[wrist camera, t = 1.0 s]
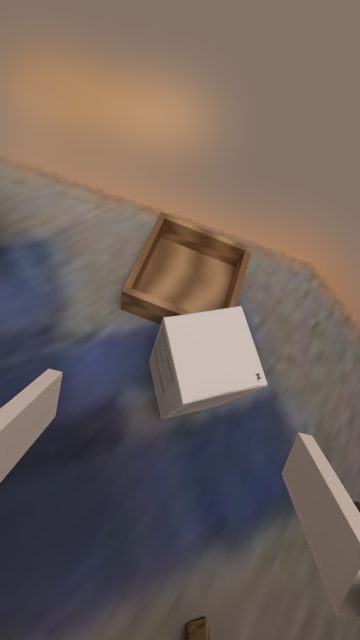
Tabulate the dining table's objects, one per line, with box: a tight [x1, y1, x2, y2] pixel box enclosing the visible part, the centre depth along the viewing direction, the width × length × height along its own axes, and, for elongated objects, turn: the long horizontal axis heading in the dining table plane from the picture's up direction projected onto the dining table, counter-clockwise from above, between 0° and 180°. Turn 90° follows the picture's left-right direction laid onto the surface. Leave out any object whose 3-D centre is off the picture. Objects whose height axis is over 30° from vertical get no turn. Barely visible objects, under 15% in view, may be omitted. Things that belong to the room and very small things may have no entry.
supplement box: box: [149, 306, 267, 419], centre depth 38 cm, size 10×9×17 cm
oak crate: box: [121, 212, 252, 324], centre depth 49 cm, size 17×17×6 cm
